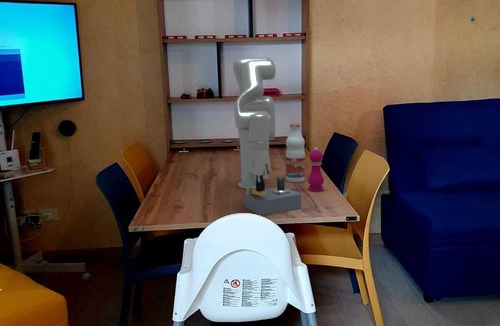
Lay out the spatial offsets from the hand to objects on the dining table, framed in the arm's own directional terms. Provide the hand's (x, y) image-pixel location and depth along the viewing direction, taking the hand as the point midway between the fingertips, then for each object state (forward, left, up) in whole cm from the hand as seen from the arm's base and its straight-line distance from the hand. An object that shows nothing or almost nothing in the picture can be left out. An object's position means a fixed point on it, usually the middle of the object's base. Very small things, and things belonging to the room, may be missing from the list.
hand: (260, 190), depth 192 cm
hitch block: (-3, +7, -9) cm, 12 cm away
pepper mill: (-15, +37, -9) cm, 41 cm away
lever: (-3, 0, -2) cm, 3 cm away
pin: (-3, +11, -9) cm, 15 cm away
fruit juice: (-34, +38, -9) cm, 52 cm away
